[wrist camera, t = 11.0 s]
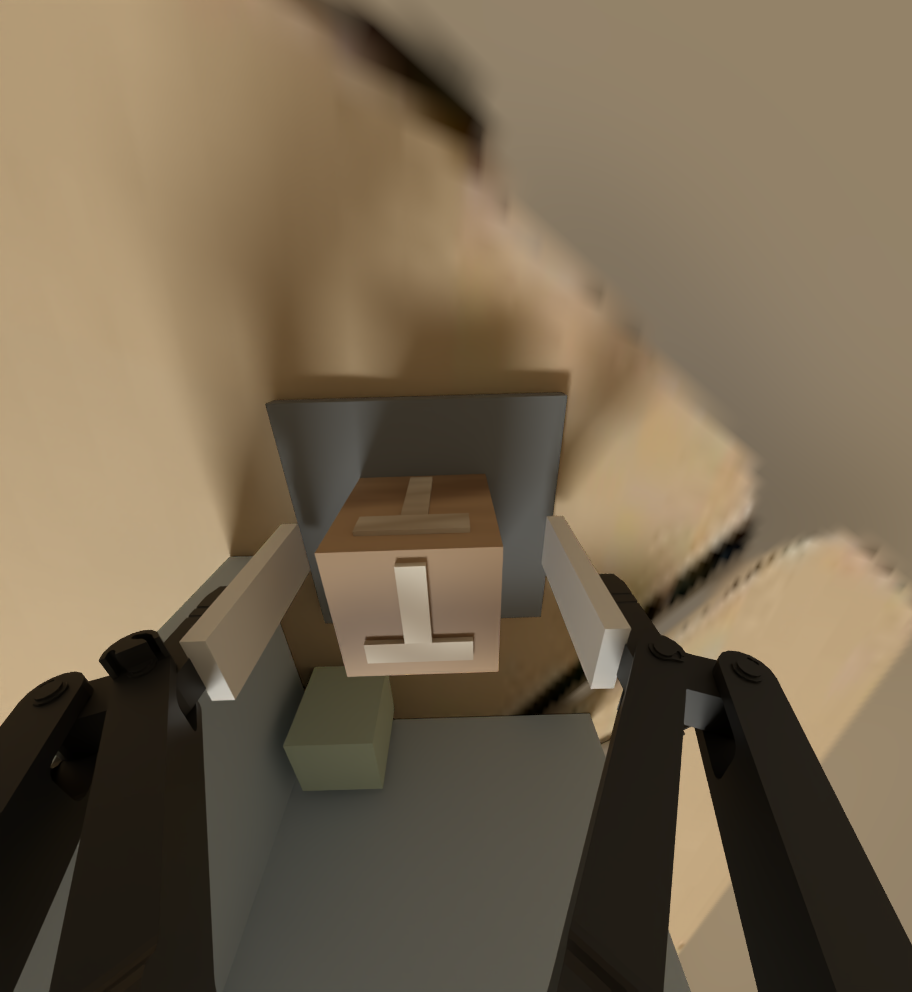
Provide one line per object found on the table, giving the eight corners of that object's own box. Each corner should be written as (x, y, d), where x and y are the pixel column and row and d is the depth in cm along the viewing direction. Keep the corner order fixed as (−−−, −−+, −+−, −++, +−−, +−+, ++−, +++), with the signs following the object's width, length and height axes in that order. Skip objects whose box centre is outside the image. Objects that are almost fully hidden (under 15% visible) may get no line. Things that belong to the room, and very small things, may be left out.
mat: (273, 400, 15) (265, 403, 14) (561, 392, 15) (567, 395, 14) (329, 613, 21) (325, 623, 20) (537, 607, 21) (540, 616, 20)
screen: (228, 556, 19) (-207, 1005, 6) (632, 545, 19) (986, 963, 6) (299, 733, 27) (165, 1094, 14) (586, 725, 27) (707, 1075, 14)
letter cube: (359, 474, 16) (310, 551, 10) (485, 469, 16) (504, 545, 10) (376, 576, 19) (346, 681, 13) (484, 573, 19) (499, 676, 13)
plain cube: (315, 665, 23) (282, 746, 19) (387, 663, 23) (372, 743, 19) (328, 709, 25) (303, 791, 21) (394, 708, 26) (382, 788, 21)
